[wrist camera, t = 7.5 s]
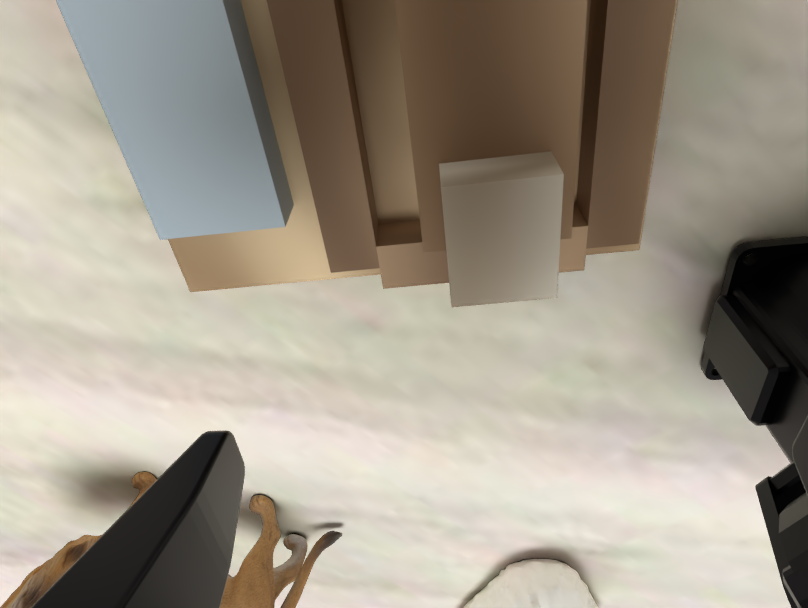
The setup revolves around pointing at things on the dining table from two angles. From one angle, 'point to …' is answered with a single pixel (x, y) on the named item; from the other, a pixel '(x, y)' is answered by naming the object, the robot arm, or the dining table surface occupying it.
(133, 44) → the wing slat
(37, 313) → the dining table surface
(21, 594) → the lion figurine
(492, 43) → the tall wooden prism
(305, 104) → the jig
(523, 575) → the white creature statuette
